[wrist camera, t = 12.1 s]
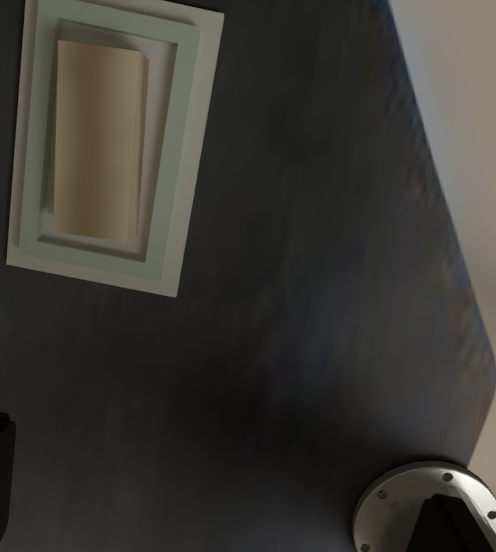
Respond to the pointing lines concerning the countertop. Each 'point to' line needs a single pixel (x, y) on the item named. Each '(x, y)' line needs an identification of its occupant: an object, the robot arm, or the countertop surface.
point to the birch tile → (99, 140)
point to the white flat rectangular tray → (157, 141)
